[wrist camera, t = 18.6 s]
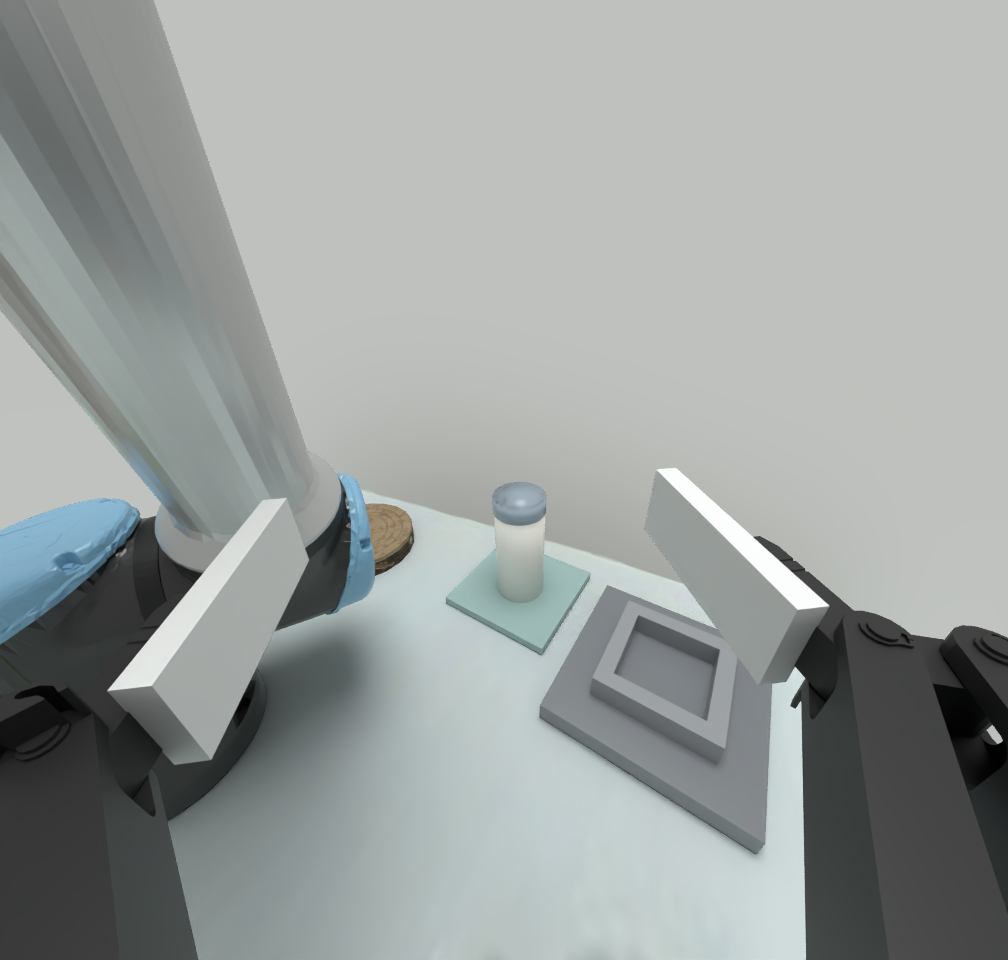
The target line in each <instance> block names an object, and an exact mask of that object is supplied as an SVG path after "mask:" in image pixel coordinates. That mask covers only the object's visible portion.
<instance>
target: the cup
mask: <svg viewBox="0 0 1008 960" xmlns="http://www.w3.org/2000/svg"><path fill="white" fill-rule="evenodd" d="M492 504H493V514H494V524H495V542H496V560H497V578H498V589H499V592H500V593H501V595H502V596H503V597H504V598H506V599H508V600H510V601H513V602H519V603H522V602H529V601H532V600H534V599H535V598H537V597H538V596H539V595H540V594H541V592H542V590H543V575H544V535H545V513H546V493H545V491H544V490H543V489H542V488H541V487H539V486H537V485H535V484H532V483H527V482H513V483H508V484H504V485H502V486H500V487H498V488H497V489H496V490H495V491H494V492H493V494H492Z"/></svg>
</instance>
